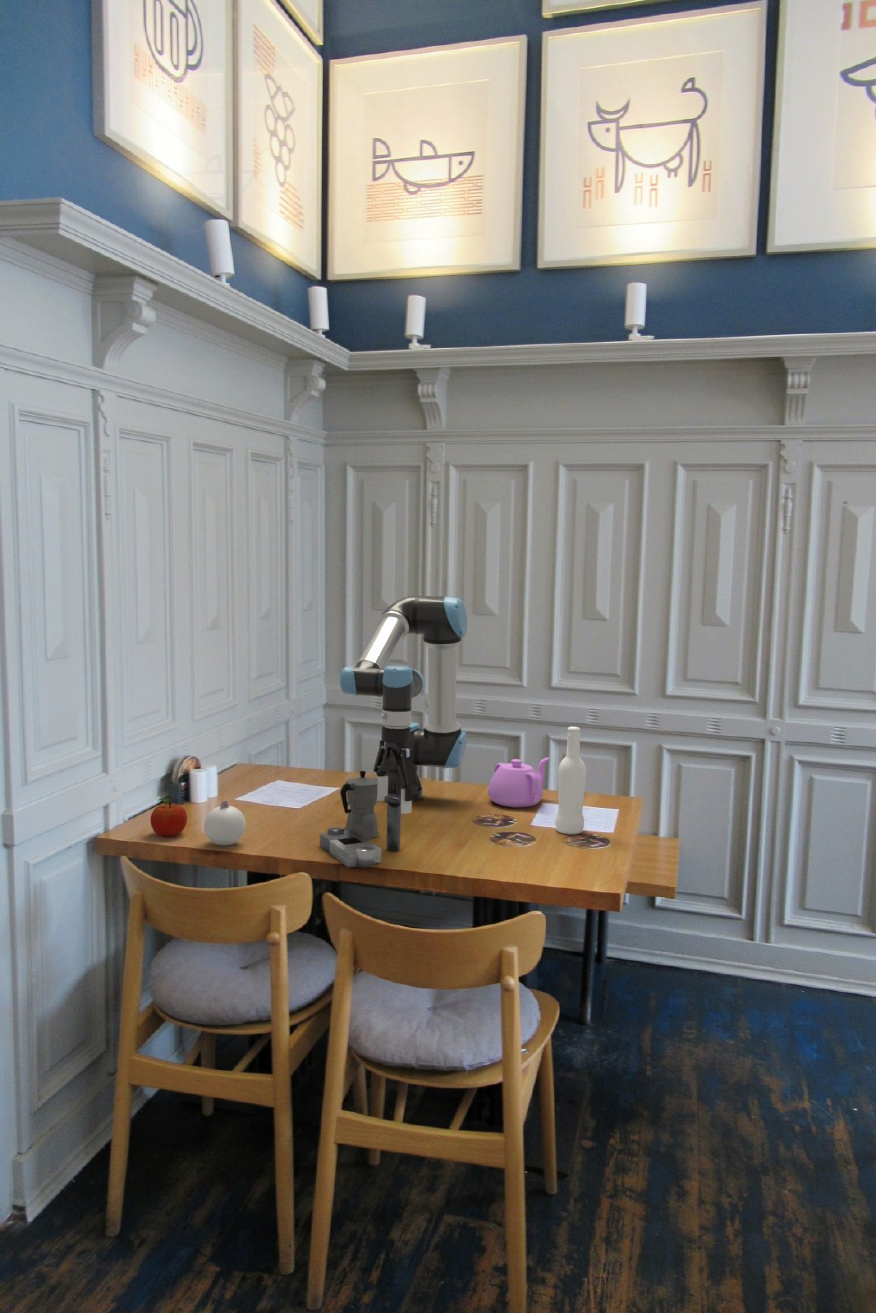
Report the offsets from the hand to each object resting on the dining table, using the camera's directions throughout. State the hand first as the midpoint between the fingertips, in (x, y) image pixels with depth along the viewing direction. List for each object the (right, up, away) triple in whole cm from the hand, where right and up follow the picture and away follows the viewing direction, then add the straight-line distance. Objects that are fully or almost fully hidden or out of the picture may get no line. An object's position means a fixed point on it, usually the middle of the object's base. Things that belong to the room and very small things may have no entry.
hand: (393, 806), depth 248 cm
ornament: (-44, -10, +2) cm, 46 cm away
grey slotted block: (-11, -12, -3) cm, 17 cm away
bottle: (+49, -11, +23) cm, 55 cm away
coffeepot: (-10, -10, +12) cm, 19 cm away
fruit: (-61, -9, +8) cm, 62 cm away
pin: (0, -11, +2) cm, 12 cm away
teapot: (+38, -7, +53) cm, 65 cm away
